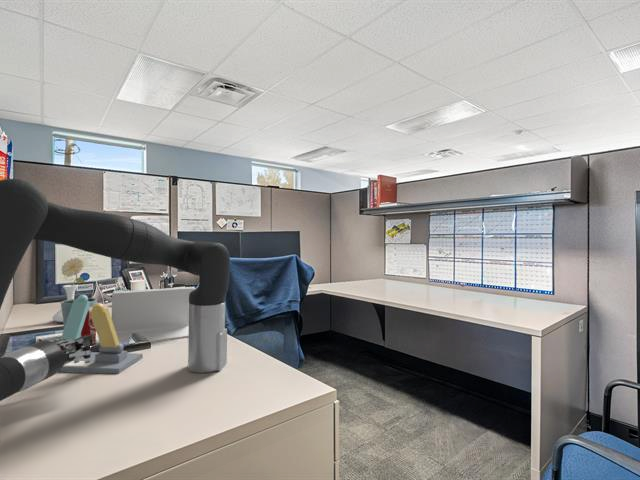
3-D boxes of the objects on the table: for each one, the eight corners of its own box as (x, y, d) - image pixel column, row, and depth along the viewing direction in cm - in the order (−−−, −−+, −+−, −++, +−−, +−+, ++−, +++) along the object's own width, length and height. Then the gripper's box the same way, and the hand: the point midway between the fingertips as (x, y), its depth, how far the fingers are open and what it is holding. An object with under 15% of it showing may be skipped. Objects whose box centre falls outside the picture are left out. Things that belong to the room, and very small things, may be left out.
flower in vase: (45, 322, 134) (45, 257, 134) (75, 316, 145) (76, 255, 144) (67, 326, 129) (67, 259, 129) (97, 319, 140) (97, 257, 139)
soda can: (85, 350, 104) (85, 310, 104) (70, 348, 105) (71, 309, 105) (99, 344, 109) (100, 306, 109) (85, 343, 111) (86, 305, 110)
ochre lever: (124, 348, 95) (110, 301, 88) (119, 355, 93) (104, 307, 86) (105, 347, 95) (89, 300, 88) (100, 354, 93) (83, 307, 86)
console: (142, 357, 99) (142, 346, 99) (119, 373, 88) (119, 360, 88) (62, 355, 99) (62, 344, 99) (29, 370, 88) (29, 358, 88)
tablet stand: (196, 336, 120) (197, 287, 120) (112, 348, 107) (112, 293, 107) (185, 324, 136) (185, 281, 135) (110, 333, 122) (110, 285, 122)
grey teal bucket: (91, 338, 115) (91, 302, 115) (55, 341, 112) (55, 303, 112) (100, 330, 125) (101, 297, 125) (67, 332, 122) (68, 298, 122)
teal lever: (78, 352, 94) (95, 296, 101) (72, 350, 92) (90, 293, 99) (59, 351, 94) (78, 295, 101) (52, 350, 92) (72, 293, 99)
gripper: (62, 347, 67) (116, 324, 84) (-6, 346, 67) (62, 323, 85) (61, 386, 67) (116, 355, 85) (-6, 384, 68) (62, 353, 85)
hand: (89, 339), depth 85 cm, fingers closed
